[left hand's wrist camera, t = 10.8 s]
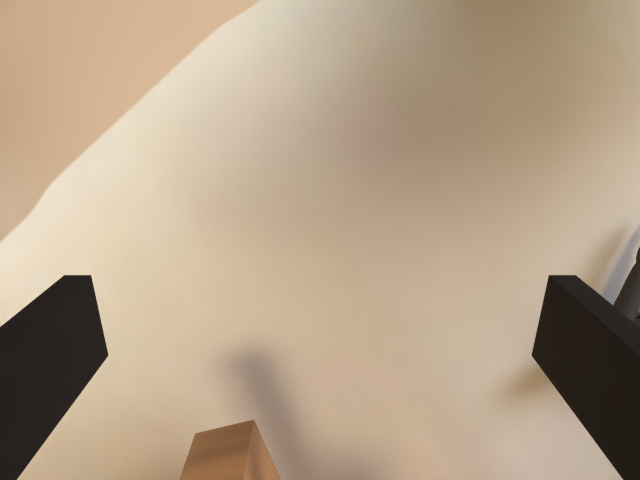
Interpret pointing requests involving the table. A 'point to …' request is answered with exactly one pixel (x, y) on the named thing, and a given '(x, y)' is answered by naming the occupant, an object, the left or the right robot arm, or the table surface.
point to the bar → (229, 455)
